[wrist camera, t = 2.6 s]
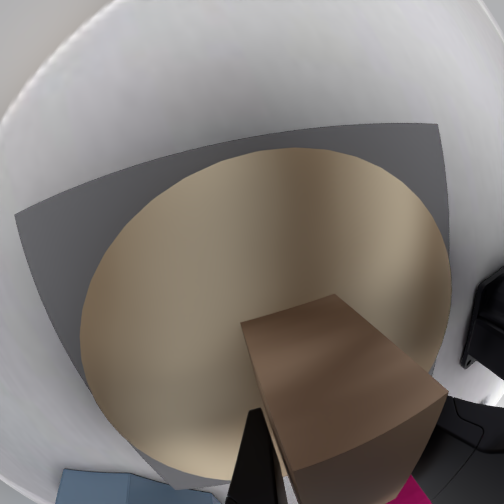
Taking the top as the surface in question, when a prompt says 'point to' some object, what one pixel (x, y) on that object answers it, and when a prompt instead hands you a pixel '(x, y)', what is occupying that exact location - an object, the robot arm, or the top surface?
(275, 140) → the mat
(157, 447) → the lid
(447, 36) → the top surface
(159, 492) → the bowl
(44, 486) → the top surface
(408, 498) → the pepper mill
